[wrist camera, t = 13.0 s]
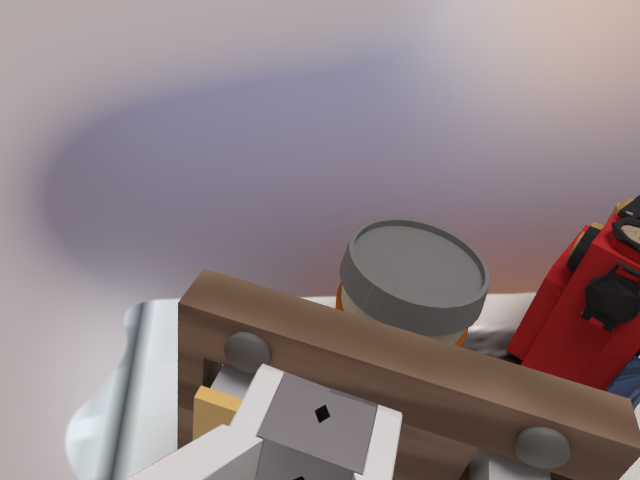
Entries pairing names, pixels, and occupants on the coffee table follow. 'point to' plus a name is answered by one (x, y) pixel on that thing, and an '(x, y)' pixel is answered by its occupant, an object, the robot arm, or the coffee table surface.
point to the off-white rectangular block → (502, 468)
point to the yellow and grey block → (219, 400)
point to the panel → (405, 384)
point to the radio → (588, 305)
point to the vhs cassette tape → (628, 382)
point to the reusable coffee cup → (413, 278)
